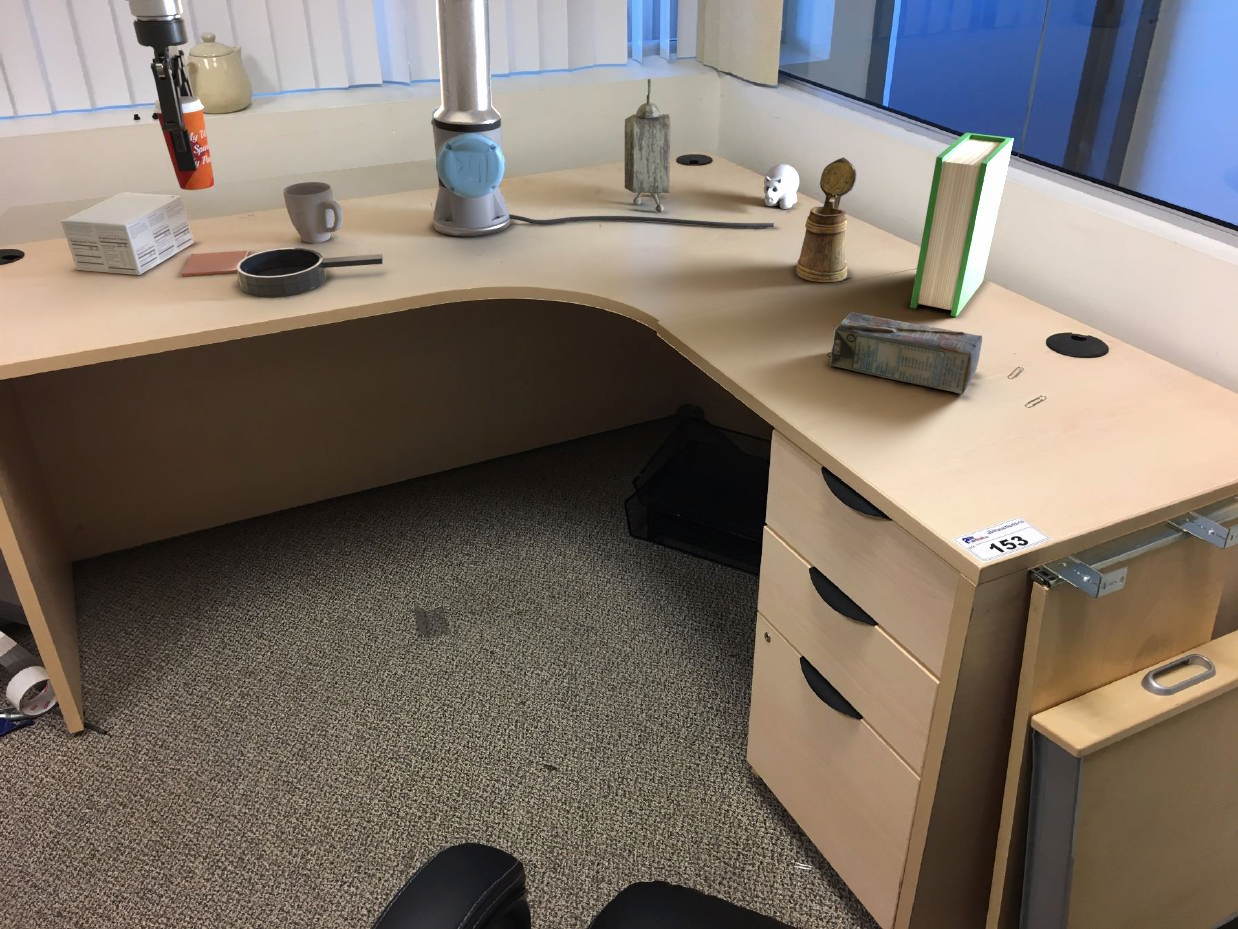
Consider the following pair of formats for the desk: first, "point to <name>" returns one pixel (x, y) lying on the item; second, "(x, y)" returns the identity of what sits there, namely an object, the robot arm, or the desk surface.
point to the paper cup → (198, 142)
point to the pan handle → (352, 261)
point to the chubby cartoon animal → (781, 186)
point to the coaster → (213, 263)
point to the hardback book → (960, 220)
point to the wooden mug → (827, 228)
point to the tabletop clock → (647, 151)
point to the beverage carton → (906, 352)
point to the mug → (313, 210)
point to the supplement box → (128, 233)
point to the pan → (281, 272)
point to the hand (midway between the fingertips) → (192, 163)
